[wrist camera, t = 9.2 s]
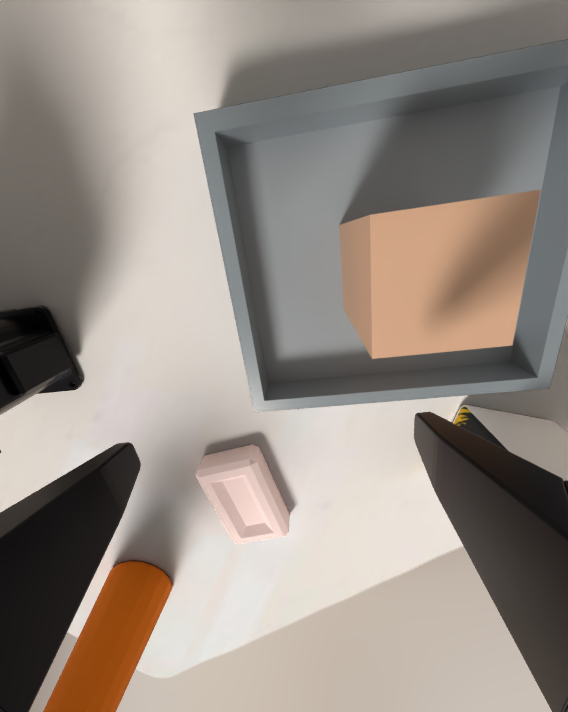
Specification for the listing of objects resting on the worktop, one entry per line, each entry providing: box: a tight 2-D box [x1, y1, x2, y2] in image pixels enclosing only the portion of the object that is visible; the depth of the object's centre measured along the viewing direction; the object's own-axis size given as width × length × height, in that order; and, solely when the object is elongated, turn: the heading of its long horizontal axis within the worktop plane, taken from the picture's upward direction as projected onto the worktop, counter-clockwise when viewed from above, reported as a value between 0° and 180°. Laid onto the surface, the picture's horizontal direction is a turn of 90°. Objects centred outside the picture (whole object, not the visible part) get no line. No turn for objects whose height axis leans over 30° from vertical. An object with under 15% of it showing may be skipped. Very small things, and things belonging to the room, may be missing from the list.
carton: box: [339, 190, 541, 359], centre depth 13 cm, size 5×5×8 cm
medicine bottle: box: [453, 405, 568, 481], centre depth 17 cm, size 7×7×12 cm
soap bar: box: [195, 444, 290, 544], centre depth 25 cm, size 5×9×2 cm, turn 19°
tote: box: [194, 39, 568, 412], centre depth 16 cm, size 18×16×3 cm
